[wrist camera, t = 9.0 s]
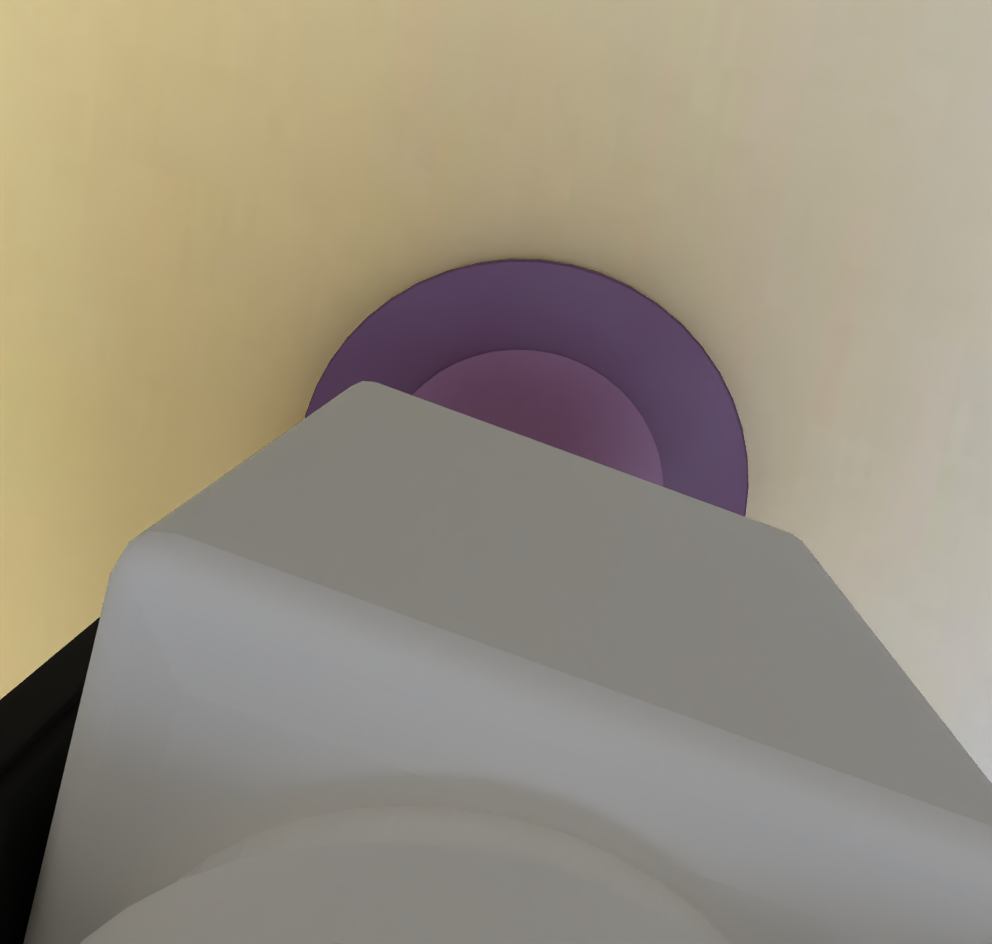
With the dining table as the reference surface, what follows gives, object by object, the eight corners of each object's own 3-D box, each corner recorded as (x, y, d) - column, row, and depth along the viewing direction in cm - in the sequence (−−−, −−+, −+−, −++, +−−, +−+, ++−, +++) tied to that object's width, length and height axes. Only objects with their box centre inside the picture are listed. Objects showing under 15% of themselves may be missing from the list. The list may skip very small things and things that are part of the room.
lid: (278, 625, 25) (266, 642, 24) (344, 212, 22) (333, 211, 21) (672, 716, 25) (678, 737, 24) (799, 315, 22) (811, 319, 20)
